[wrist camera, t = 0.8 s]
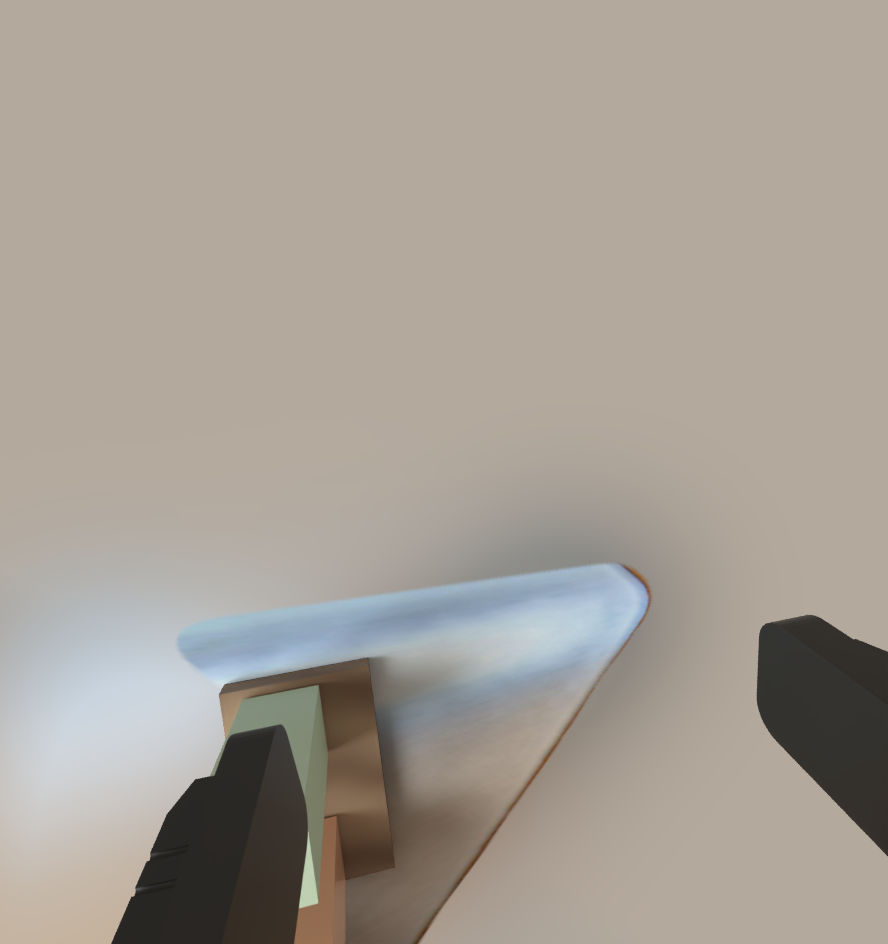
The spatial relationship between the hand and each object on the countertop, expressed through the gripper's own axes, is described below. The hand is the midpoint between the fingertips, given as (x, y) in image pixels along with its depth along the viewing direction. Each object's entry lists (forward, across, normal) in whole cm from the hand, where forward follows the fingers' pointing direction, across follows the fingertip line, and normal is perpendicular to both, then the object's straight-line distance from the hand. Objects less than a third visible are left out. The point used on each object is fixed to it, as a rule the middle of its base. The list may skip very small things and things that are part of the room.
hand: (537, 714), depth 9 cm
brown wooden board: (+24, -12, -23) cm, 36 cm away
